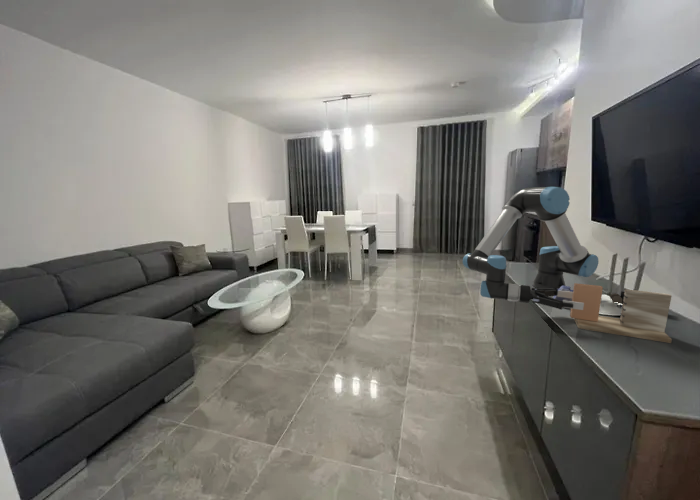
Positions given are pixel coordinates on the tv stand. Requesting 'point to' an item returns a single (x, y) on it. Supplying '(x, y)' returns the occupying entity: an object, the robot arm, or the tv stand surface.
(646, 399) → the tv stand surface
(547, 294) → the robot arm
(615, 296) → the figurine character
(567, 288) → the mineral
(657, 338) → the stand
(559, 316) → the tv stand surface
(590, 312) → the orange rectangular panel
